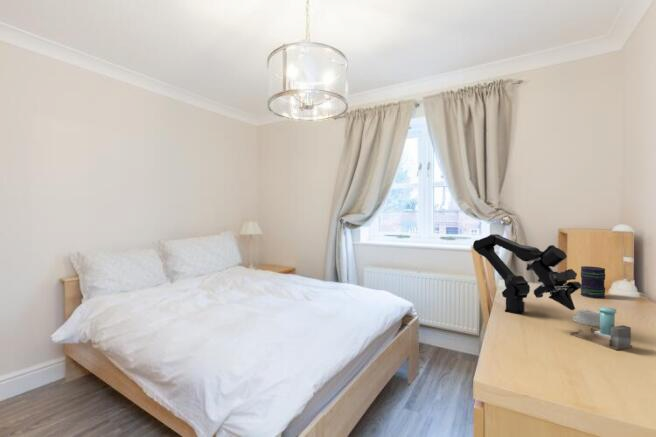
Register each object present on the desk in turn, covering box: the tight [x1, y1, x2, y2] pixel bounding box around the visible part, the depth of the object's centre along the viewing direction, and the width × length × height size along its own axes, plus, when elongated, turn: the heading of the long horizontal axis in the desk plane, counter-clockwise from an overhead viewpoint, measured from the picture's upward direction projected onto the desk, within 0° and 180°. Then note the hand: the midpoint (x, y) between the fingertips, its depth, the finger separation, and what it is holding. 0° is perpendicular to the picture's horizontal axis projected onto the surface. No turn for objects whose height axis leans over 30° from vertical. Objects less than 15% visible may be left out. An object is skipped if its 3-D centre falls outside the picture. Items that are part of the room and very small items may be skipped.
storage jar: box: [580, 265, 606, 300], centre depth 162 cm, size 10×10×15 cm
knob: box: [595, 306, 617, 339], centre depth 103 cm, size 5×4×11 cm
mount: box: [570, 324, 633, 351], centre depth 105 cm, size 14×8×7 cm, turn 17°
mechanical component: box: [572, 308, 600, 327], centre depth 123 cm, size 10×4×10 cm
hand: (573, 309), depth 113 cm, fingers closed
